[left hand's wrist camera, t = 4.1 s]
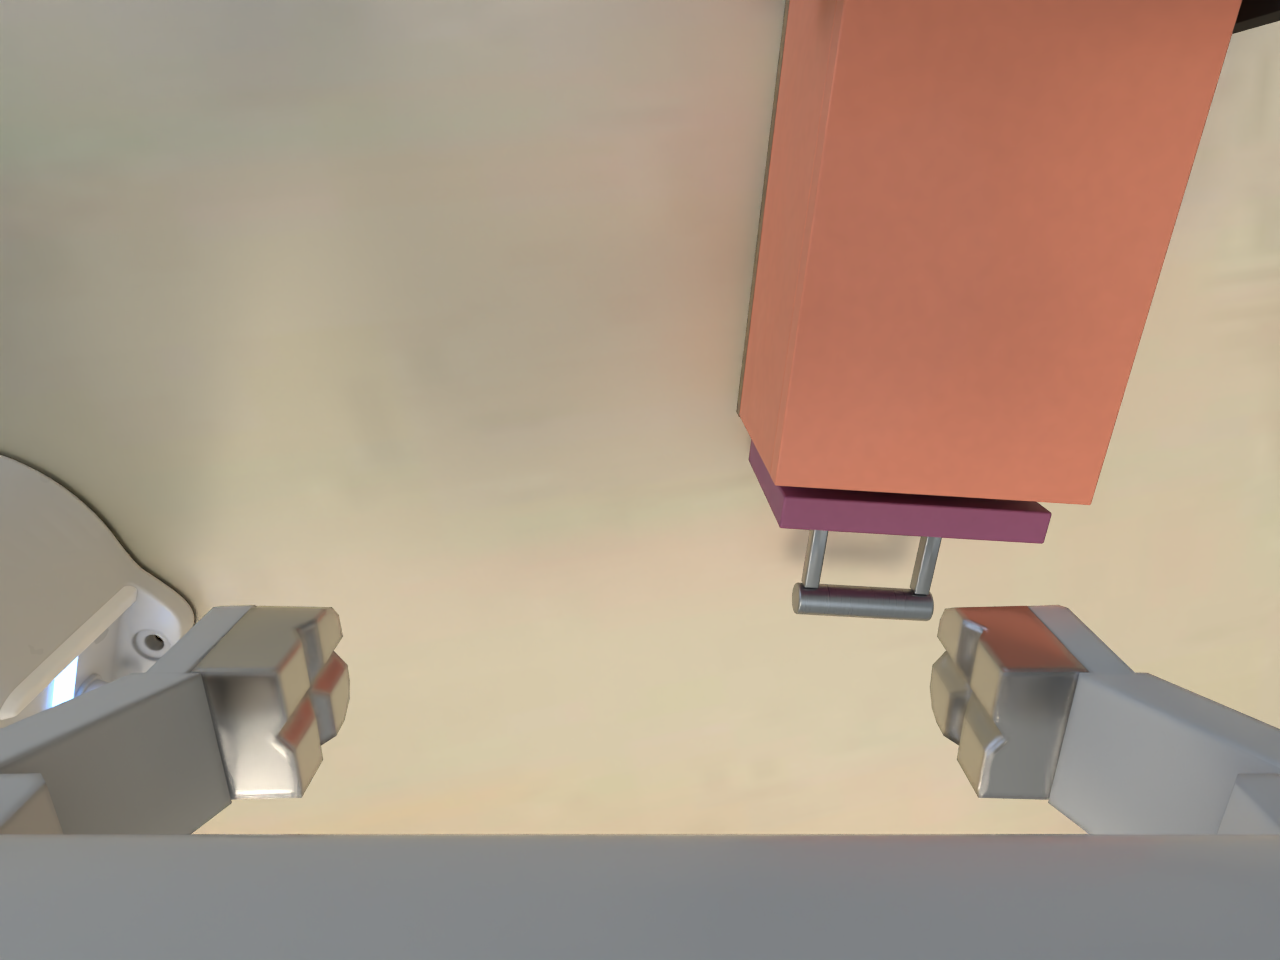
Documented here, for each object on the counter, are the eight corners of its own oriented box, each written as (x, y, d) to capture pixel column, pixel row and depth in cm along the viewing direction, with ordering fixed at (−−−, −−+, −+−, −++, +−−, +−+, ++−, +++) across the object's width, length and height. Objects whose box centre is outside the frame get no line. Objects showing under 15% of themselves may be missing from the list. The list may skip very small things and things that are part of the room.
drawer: (935, 578, 35) (1009, 669, 28) (734, 566, 35) (760, 656, 28) (1071, -7, 27) (1218, -73, 20) (811, -31, 27) (873, -106, 20)
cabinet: (974, 427, 34) (1091, 505, 25) (736, 411, 33) (774, 486, 25) (1097, -100, 27) (1314, -235, 18) (801, -129, 26) (883, -280, 18)
